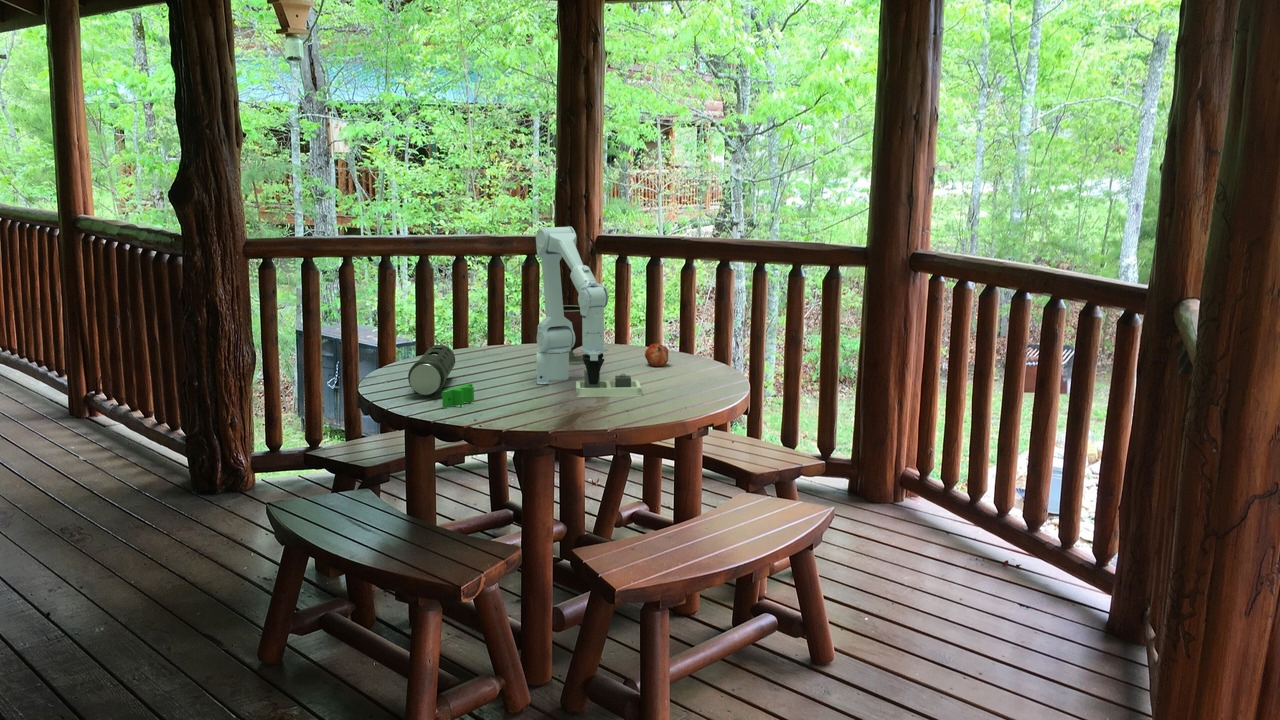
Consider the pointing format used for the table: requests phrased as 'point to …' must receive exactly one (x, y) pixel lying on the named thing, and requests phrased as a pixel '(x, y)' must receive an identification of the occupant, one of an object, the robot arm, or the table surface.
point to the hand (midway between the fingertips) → (593, 382)
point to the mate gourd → (576, 318)
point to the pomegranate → (656, 355)
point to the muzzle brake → (431, 370)
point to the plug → (622, 381)
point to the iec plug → (586, 381)
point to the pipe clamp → (458, 395)
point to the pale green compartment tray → (608, 389)
